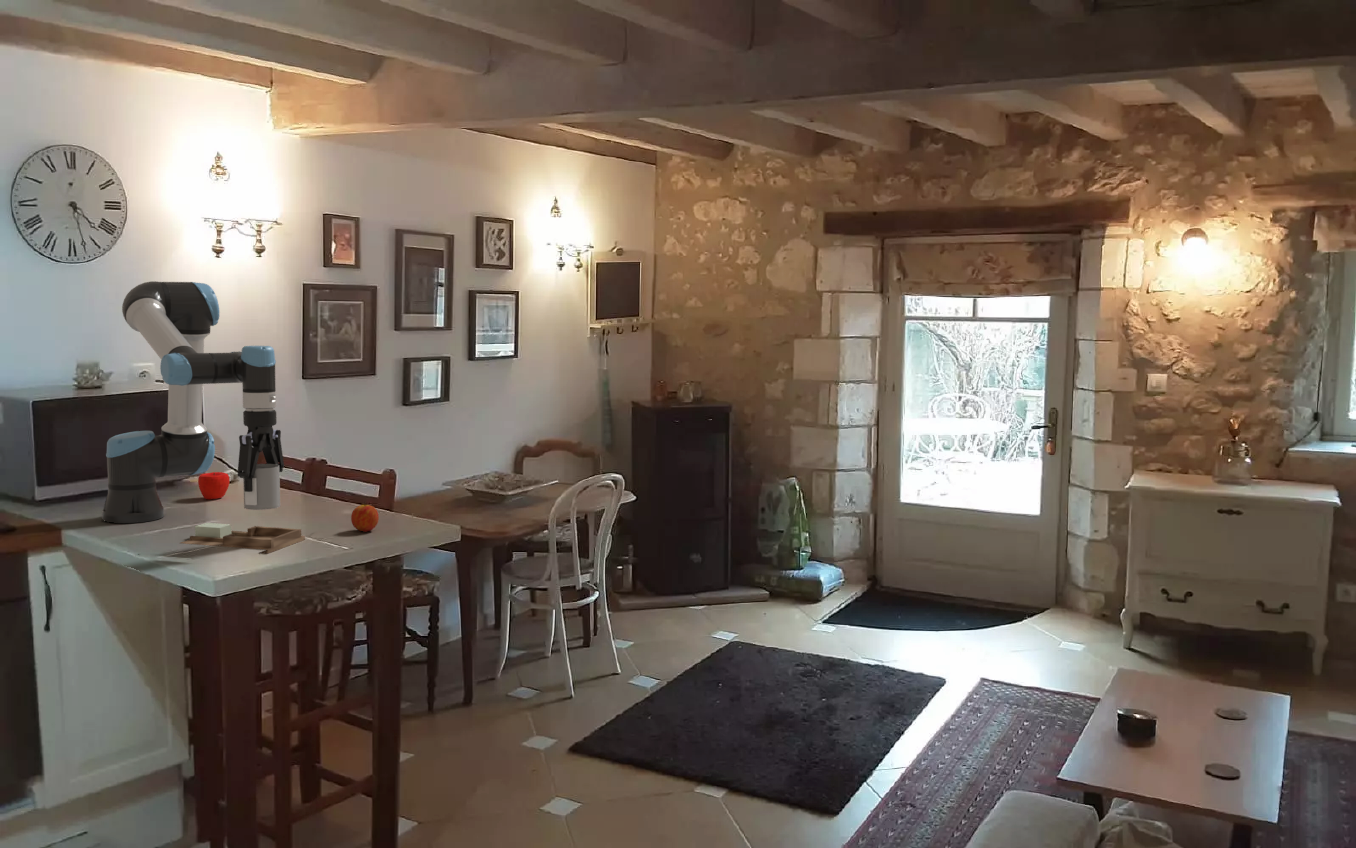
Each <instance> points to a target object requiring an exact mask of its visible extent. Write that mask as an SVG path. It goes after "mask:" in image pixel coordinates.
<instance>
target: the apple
mask: <svg viewBox="0 0 1356 848" xmlns="http://www.w3.org/2000/svg"><path fill="white" fill-rule="evenodd" d="M197 478H198V480H197V484H198V488H199V491H200V493H201V496H202V497H203V499H205V500H215V499H217V500H218V499H221V498H224V496H225V495H226V493H227V491H228V489H229V486H230V476H229V474H228V473H226V472H223V471H221V472H220V471H214V472H207V473H205V472H204V473H200V474H199V476H198V477H197Z"/></svg>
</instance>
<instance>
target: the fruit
mask: <svg viewBox="0 0 1356 848" xmlns="http://www.w3.org/2000/svg"><path fill="white" fill-rule="evenodd" d="M366 503H367V502H366V500H365V501H364V504H360V505H358V506H356V507H355V508H354V509H353V511H352V512H351V516H350V521H351V524H352V526H353V527H354V528H355V529H356V530H358V531H359V532H361V531H363V532H364V533H367V532H370V531H373V530H374V529H375V528H376V527H377V525H378V523H379V521H380V520H379V517H380V516H379V513H378V510H377V509H376V508H375V506H373V505H370V504H366ZM363 532H362V533H363Z"/></svg>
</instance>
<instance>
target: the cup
mask: <svg viewBox="0 0 1356 848" xmlns="http://www.w3.org/2000/svg"><path fill="white" fill-rule="evenodd" d="M254 478H256V483H257V505H245V490H244V489H243V508H244V509H246V510H253V511H255V510H256V511H263V510H264V511H265V510H272V509H277V508H280V507H281V488H280V487H281V484H280V483H281V481H280V478H281V477H280V472H279V465H277V464H267V463H257V466H256V470H255V474H254ZM242 479H243V481H242V483H243V486H244V478H242Z"/></svg>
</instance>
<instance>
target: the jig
mask: <svg viewBox="0 0 1356 848" xmlns="http://www.w3.org/2000/svg"><path fill="white" fill-rule="evenodd" d="M246 530H247V531H242V530H241V531H239V530H231V532H232V534H229V535H226V536H223V538H215V537H202V536H195V535H190V536H189V539H188V540H185V541H182V542H180V544H186V545H199V546H200V545H201V546H212V547H225V548H239V549H250V550H251V549H253V550H262V551H260V552H258V554H265V555H267V554H271V553H274V552H276V551H279V550H281V549H284V548H287V547H290V546H292V545H294V544H298V543H300V542H303V541H305V540H306V537H305V535H302V528H287V527H275V526H274V527H273V526H258V525H254V526H251V527H248V528H247V529H246Z"/></svg>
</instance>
